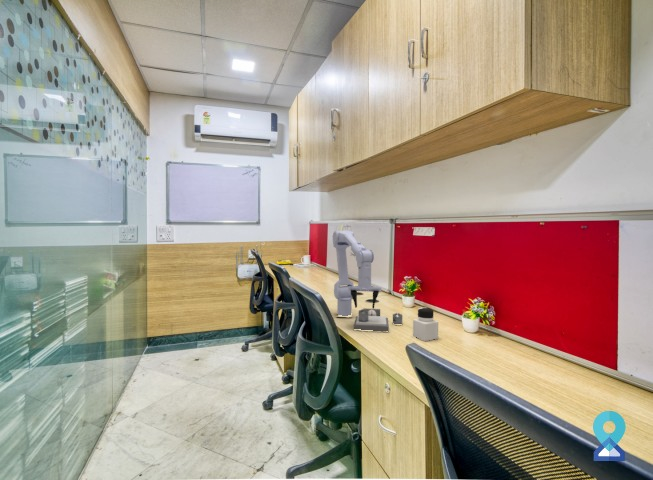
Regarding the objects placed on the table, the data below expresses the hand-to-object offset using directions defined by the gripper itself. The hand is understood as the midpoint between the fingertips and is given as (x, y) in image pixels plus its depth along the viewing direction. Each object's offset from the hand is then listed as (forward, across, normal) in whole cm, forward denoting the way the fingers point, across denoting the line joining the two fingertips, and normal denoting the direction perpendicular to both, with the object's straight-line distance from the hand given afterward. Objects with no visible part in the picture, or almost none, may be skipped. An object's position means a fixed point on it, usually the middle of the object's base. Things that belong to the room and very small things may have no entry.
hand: (364, 307), depth 140 cm
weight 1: (+6, 0, 0) cm, 6 cm away
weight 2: (+9, +15, +10) cm, 20 cm away
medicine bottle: (+10, +25, -8) cm, 28 cm away
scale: (+9, +3, +3) cm, 10 cm away
